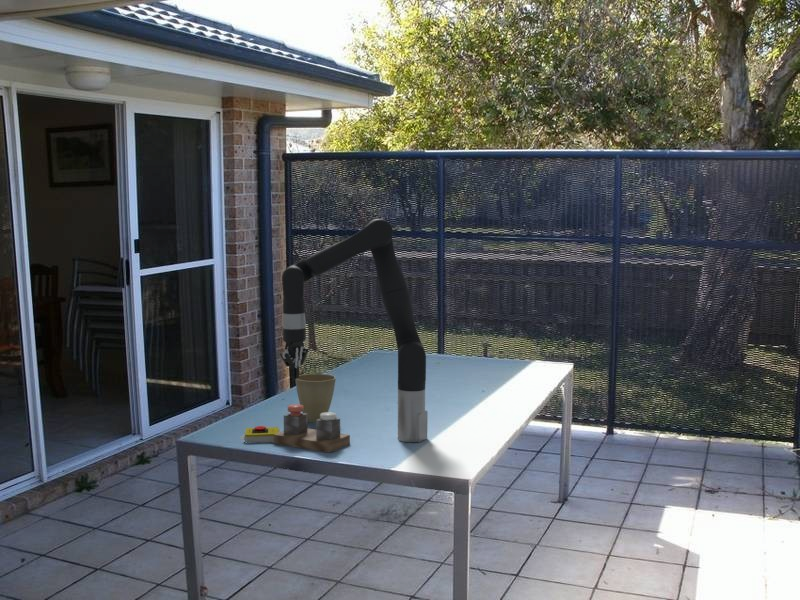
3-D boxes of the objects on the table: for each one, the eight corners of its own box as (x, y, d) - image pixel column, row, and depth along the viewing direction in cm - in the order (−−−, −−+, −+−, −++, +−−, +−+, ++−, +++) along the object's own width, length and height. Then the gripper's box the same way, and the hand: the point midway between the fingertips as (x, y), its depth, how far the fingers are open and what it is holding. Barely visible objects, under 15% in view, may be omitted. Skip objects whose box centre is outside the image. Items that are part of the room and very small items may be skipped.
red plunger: (306, 425, 270) (306, 405, 269) (297, 428, 265) (297, 408, 265) (293, 423, 272) (293, 403, 272) (284, 426, 268) (284, 406, 267)
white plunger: (339, 433, 264) (339, 413, 263) (330, 437, 259) (330, 416, 259) (326, 431, 266) (326, 411, 266) (317, 435, 262) (317, 414, 261)
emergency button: (241, 424, 275) (285, 423, 278) (241, 437, 276) (285, 435, 278) (240, 431, 266) (285, 430, 269) (240, 444, 267) (286, 442, 269)
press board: (349, 443, 266) (349, 416, 265) (329, 452, 256) (329, 425, 255) (295, 435, 277) (295, 409, 276) (273, 443, 266) (273, 416, 265)
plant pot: (325, 426, 288) (325, 382, 287) (288, 422, 294) (287, 379, 292) (342, 416, 302) (342, 375, 301) (306, 413, 308) (306, 372, 306)
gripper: (291, 329, 258) (292, 383, 260) (315, 325, 270) (315, 376, 271) (272, 328, 262) (273, 381, 263) (296, 323, 273) (297, 374, 275)
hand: (295, 378), depth 267 cm, fingers closed
